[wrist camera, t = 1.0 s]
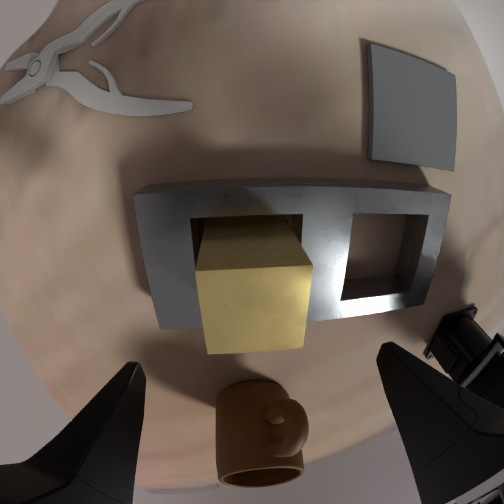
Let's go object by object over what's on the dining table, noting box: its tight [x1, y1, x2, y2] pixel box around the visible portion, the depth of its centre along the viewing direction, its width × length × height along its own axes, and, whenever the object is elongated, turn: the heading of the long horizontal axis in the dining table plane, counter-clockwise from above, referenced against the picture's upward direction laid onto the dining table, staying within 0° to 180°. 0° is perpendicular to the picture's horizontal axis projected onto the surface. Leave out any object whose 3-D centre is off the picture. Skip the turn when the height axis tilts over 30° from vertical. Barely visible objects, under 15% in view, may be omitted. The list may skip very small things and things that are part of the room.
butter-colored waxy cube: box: [195, 214, 313, 354], centre depth 15 cm, size 5×5×7 cm
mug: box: [216, 381, 309, 488], centre depth 20 cm, size 12×8×9 cm, turn 161°
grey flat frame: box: [133, 178, 451, 329], centre depth 17 cm, size 20×9×2 cm, turn 91°
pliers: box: [0, 0, 193, 116], centre depth 11 cm, size 10×2×15 cm
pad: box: [367, 44, 457, 172], centre depth 14 cm, size 8×8×1 cm
